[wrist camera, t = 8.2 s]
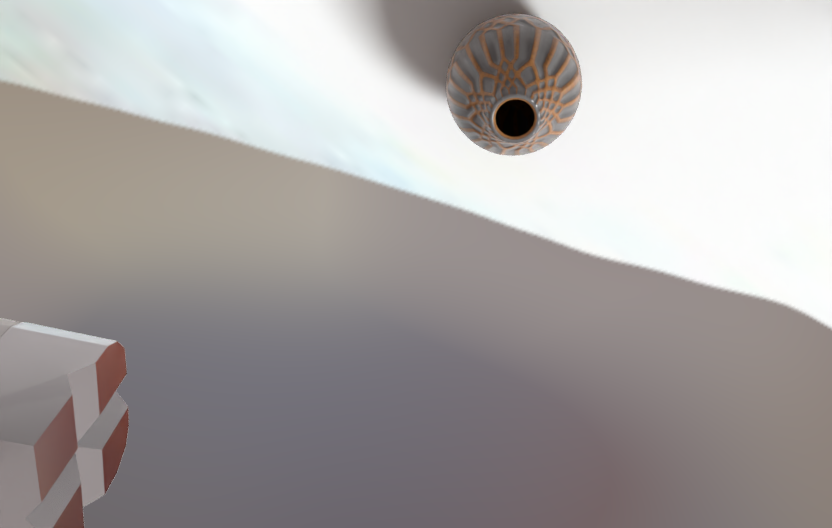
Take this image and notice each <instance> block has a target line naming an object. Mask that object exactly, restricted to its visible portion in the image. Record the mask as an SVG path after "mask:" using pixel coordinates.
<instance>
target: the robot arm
mask: <svg viewBox="0 0 832 528" xmlns="http://www.w3.org/2000/svg"><path fill="white" fill-rule="evenodd" d="M126 374H127V368H126V357H125V348H124V347H123V346H122V345H121V344H120V343H119V342H118V341H114V340H109V339H104V338H99V337H94V336H90V335H85V334H80V333H75V332H70V331H65V330H61V329H56V328H51V327H46V326H41V325H36V324H32V323H27V322H23V323H21V322H17V321H13V320H8V319H3V318H0V528H84V516H83V507H84V506H86V505H88V504H90V503H91V502H93V501H95V500H97V499H99V498H100V497H102V496H104V495H105V494H106V492H107V490H108V488H109V486H110V484H111V482H112V481H113V479H114V477H115V475H116V474H117V471H118V468H119V465H120V462H121V459H122V456H123V453H124V450H125V447H126V442H127V434H128V428H129V410H128V406H127V404H126V403H125V402H124V401H123V399H122V398H121V397H120V395H119V394H118V393H117V392H116V390H117V388H118V387H119V385H120V384H121V382H122V381H123V379H124V377H125V376H126Z"/></svg>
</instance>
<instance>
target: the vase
mask: <svg viewBox="0 0 832 528" xmlns="http://www.w3.org/2000/svg"><path fill="white" fill-rule="evenodd" d="M581 89H582V76H581V70H580V65H579V62H578V59H577V56H576V54H575V52H574V50H573V48H572V46H571V44H570V43H569V41H568V40H567V39H566V37H565V36H564V35H563V34H562V33H561V32H560V31H559V30H558V29H557V28H556V27H554V26H553V25H552V24H550V23H548V22H547V21H545V20H543V19H540V18H538V17H535V16H531V15H526V14H505V15H500V16H497V17H493V18H491V19H488V20H486V21H484V22H482V23H481V24H479V25H478V26H476V27H475V28H474V29H472V30H471V31H470V32H469V33H468V34H467V35H466V36H465V37H464V38H463V40H462V41H461V42H460V44H459V45H458V47H457V49H456V50H455V52H454V54H453V56H452V59H451V62H450V65H449V68H448V72H447V80H446V95H447V101H448V105H449V108H450V111H451V114H452V116H453V118H454V120H455V122H456V124H457V125H458V127H459V128H460V129H461V131H462V132H463V133H464V134H465V135H466V136H467V137H468V138H469V139H470V140H471V141H472V142H474V143H475V144H476V145H478V146H480V147H481V148H483V149H485V150H488V151H490V152H493V153H496V154H501V155H510V156H514V155H524V154H528V153H532V152H535V151H537V150H540V149H542V148H544V147H545V146H547V145H549V144H550V143H552V142H553V141H554V140H555V139H557V138H558V137H559V136H560V135H561V134H562V133H563V132H564V130H565V129H566V128H567V126H568V125H569V124H570V122H571V120H572V119H573V117H574V115H575V113H576V110H577V108H578V105H579V101H580V96H581Z"/></svg>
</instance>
